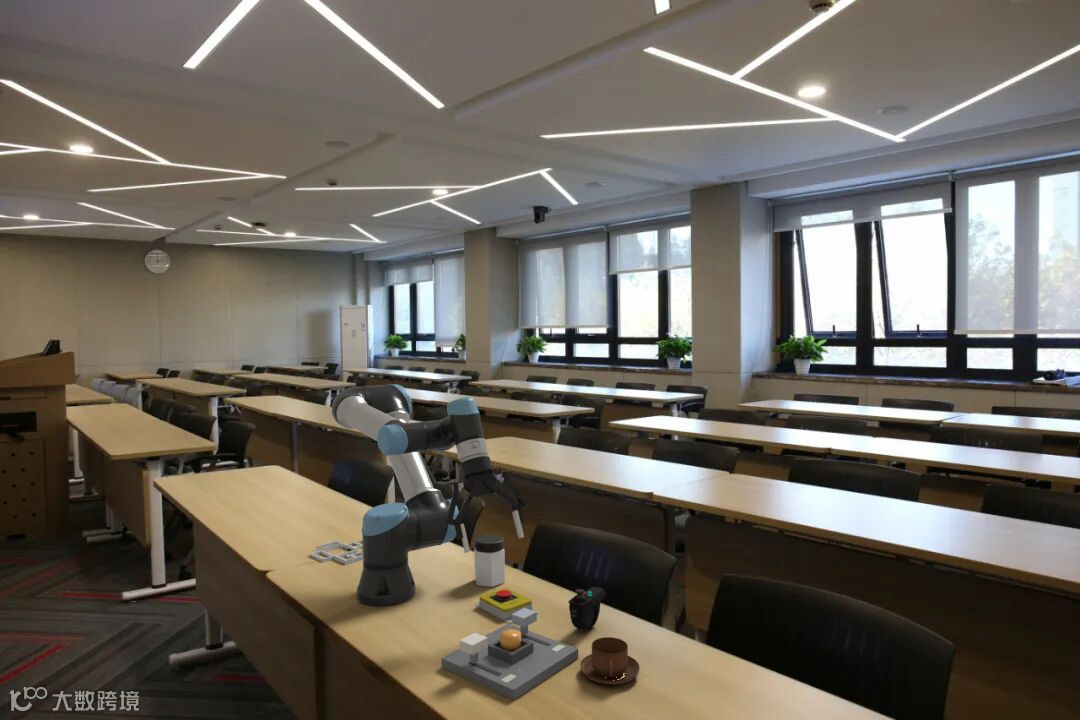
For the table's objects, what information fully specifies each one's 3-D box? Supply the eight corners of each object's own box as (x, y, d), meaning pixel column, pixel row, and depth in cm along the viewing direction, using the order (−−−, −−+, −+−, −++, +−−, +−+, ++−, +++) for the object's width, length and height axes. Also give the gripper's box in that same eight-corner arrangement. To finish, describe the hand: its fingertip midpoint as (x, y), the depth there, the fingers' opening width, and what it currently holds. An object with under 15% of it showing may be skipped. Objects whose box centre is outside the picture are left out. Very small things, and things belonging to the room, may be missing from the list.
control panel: (441, 667, 142) (441, 648, 142) (508, 632, 158) (508, 615, 158) (514, 700, 129) (513, 679, 129) (578, 657, 146) (578, 639, 146)
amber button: (495, 645, 143) (495, 634, 143) (509, 638, 147) (509, 627, 147) (511, 652, 141) (511, 640, 140) (525, 644, 144) (525, 633, 144)
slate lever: (511, 634, 151) (511, 614, 151) (524, 628, 155) (524, 607, 154) (524, 639, 149) (523, 618, 149) (536, 632, 152) (536, 611, 152)
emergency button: (503, 580, 180) (539, 598, 168) (503, 597, 180) (539, 615, 169) (474, 589, 174) (509, 608, 162) (474, 606, 174) (510, 626, 163)
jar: (468, 585, 187) (468, 542, 187) (480, 574, 195) (479, 533, 195) (499, 588, 185) (499, 545, 184) (509, 578, 192) (509, 536, 192)
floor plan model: (286, 560, 210) (286, 554, 209) (357, 541, 228) (357, 535, 228) (317, 575, 197) (317, 568, 197) (390, 553, 215) (390, 547, 215)
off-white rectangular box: (460, 662, 139) (459, 640, 139) (475, 654, 142) (474, 632, 142) (472, 668, 137) (472, 645, 136) (487, 659, 140) (487, 637, 140)
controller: (565, 634, 157) (565, 592, 156) (592, 615, 167) (592, 575, 167) (581, 639, 154) (581, 596, 154) (608, 620, 165) (608, 579, 164)
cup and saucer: (649, 684, 135) (649, 654, 135) (592, 694, 132) (592, 663, 131) (625, 656, 146) (624, 628, 146) (572, 665, 143) (572, 636, 143)
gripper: (426, 466, 161) (446, 556, 156) (525, 445, 170) (547, 530, 164) (423, 472, 168) (441, 559, 162) (518, 452, 177) (539, 533, 171)
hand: (494, 544), depth 163 cm, fingers open, 13 cm apart
